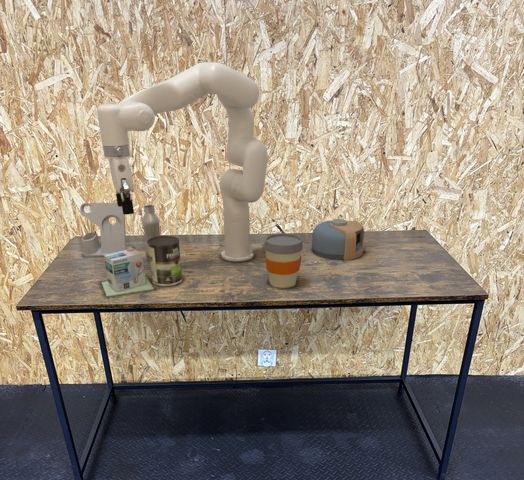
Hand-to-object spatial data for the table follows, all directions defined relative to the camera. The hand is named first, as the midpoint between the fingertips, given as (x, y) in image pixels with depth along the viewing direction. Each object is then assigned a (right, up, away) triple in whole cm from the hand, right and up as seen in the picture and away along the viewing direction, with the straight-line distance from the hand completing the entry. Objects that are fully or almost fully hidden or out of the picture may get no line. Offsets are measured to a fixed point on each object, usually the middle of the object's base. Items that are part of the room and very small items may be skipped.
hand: (125, 209), depth 154 cm
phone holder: (-18, -5, +40) cm, 44 cm away
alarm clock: (+72, -5, +41) cm, 83 cm away
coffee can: (+10, -20, +15) cm, 27 cm away
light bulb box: (-2, -22, +11) cm, 25 cm away
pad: (-2, -22, +11) cm, 25 cm away
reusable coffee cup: (+49, -21, +14) cm, 55 cm away
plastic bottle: (+2, -10, +32) cm, 34 cm away
